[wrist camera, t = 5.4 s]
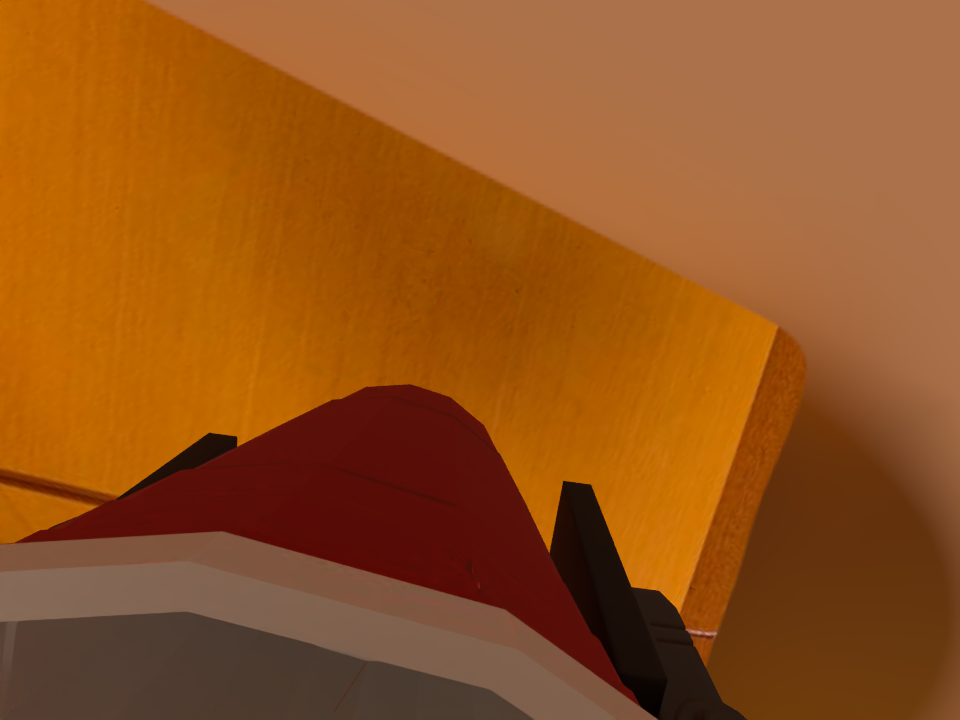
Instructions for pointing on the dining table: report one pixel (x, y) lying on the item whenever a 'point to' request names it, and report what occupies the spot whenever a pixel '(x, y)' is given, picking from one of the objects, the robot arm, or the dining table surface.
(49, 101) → the dining table surface
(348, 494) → the plastic cup
